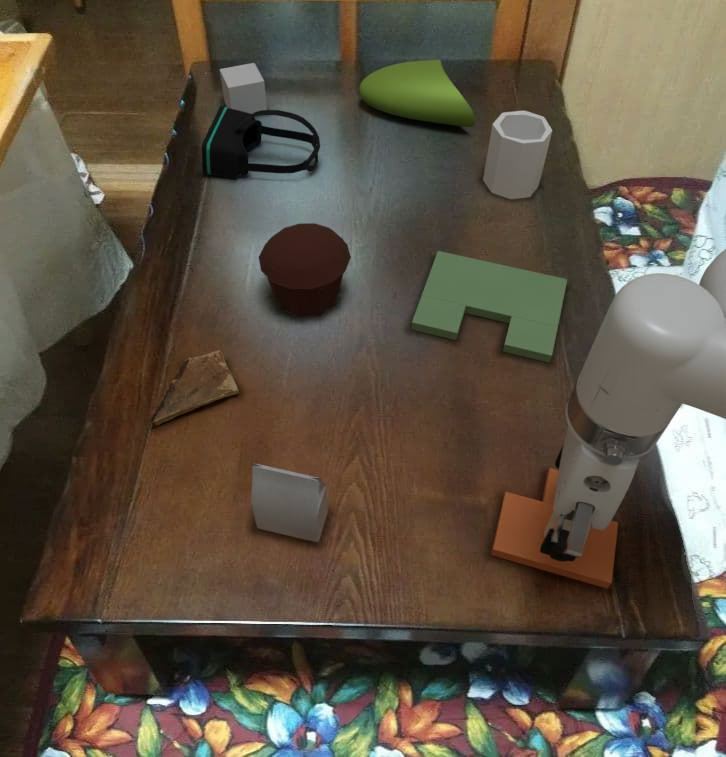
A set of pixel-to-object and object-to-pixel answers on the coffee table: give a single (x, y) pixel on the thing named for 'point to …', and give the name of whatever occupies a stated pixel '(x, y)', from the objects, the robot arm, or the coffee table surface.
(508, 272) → the notch pad
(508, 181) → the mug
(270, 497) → the grey piece
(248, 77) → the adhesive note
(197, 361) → the shard
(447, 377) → the coffee table surface
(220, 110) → the virtual reality headset
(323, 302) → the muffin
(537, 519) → the tab pad
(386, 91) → the green curved wedge
